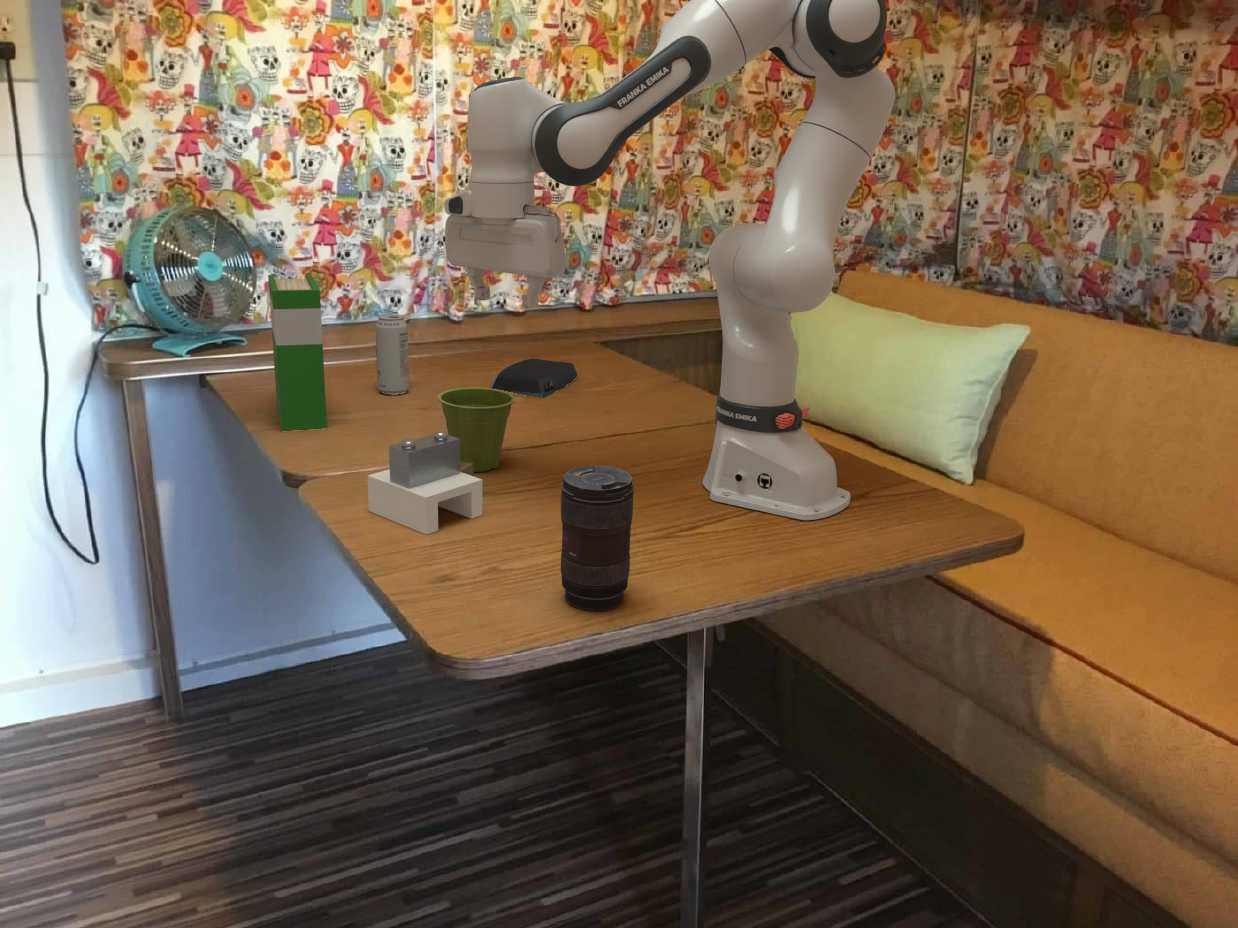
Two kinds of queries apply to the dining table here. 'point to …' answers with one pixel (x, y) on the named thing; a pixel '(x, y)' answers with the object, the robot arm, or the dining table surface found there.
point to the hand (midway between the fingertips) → (505, 303)
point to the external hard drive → (535, 377)
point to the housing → (424, 459)
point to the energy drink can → (392, 354)
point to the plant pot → (477, 423)
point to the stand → (424, 500)
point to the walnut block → (466, 468)
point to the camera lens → (596, 536)
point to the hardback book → (298, 353)
